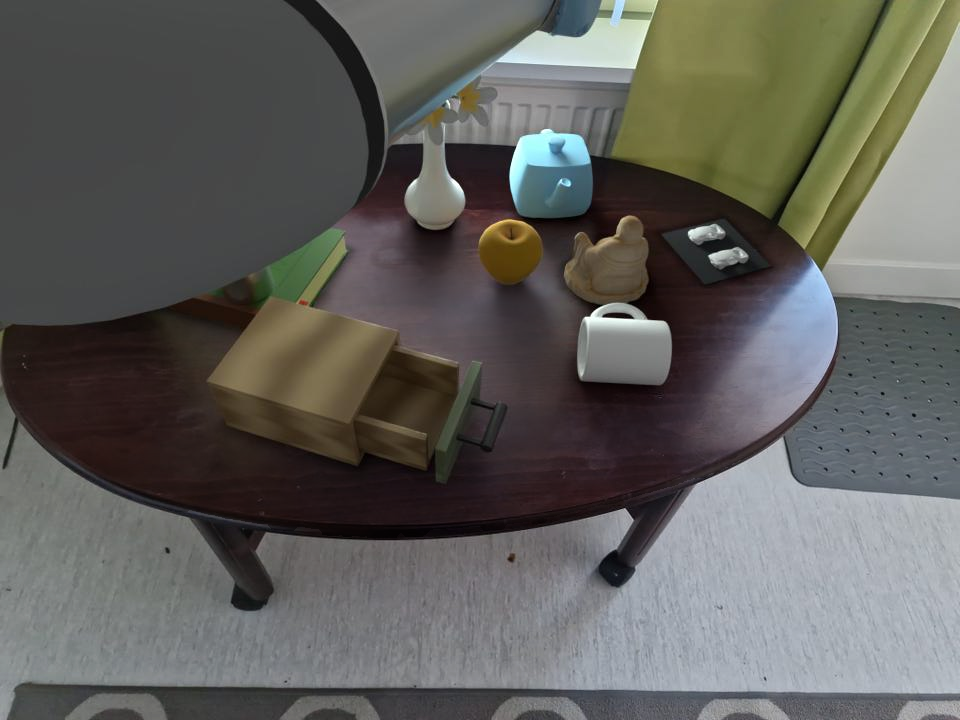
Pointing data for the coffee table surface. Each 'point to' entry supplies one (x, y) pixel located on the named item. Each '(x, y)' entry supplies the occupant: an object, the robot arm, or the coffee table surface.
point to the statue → (610, 265)
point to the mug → (623, 347)
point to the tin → (250, 287)
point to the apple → (510, 251)
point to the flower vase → (443, 160)
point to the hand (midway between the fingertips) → (239, 188)
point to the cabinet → (302, 377)
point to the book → (278, 282)
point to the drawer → (423, 412)
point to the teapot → (551, 175)
